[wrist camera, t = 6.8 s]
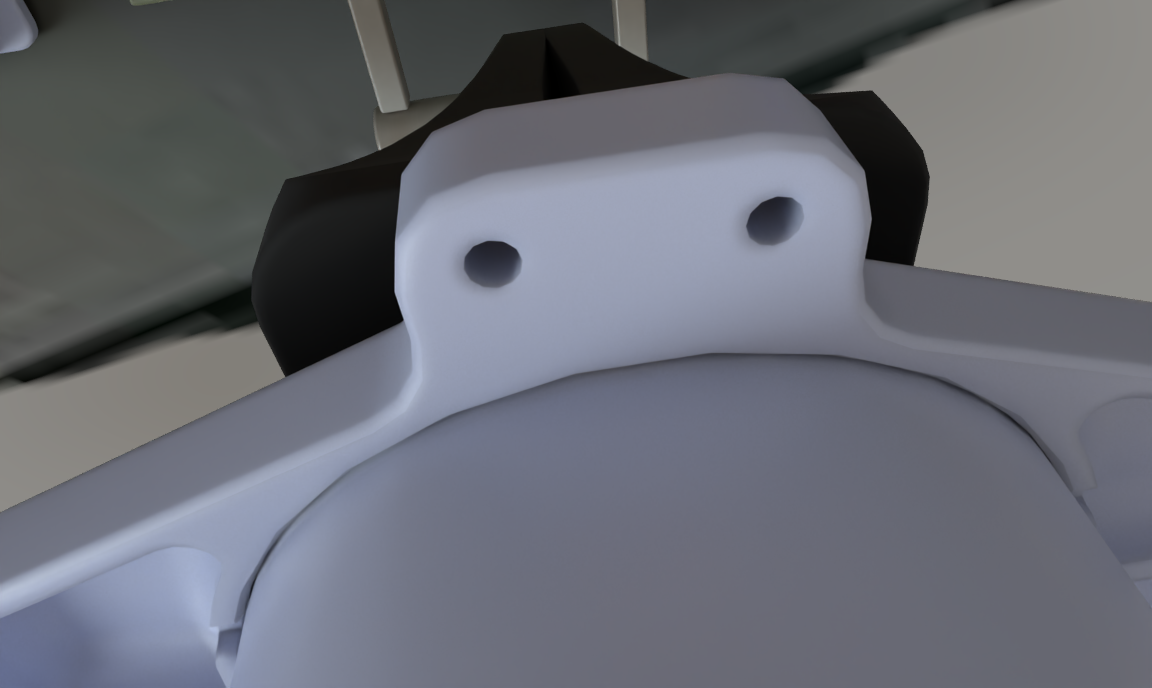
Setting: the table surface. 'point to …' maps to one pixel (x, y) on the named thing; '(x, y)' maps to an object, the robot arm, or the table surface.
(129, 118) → the table surface
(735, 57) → the table surface
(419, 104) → the drawer
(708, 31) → the table surface
